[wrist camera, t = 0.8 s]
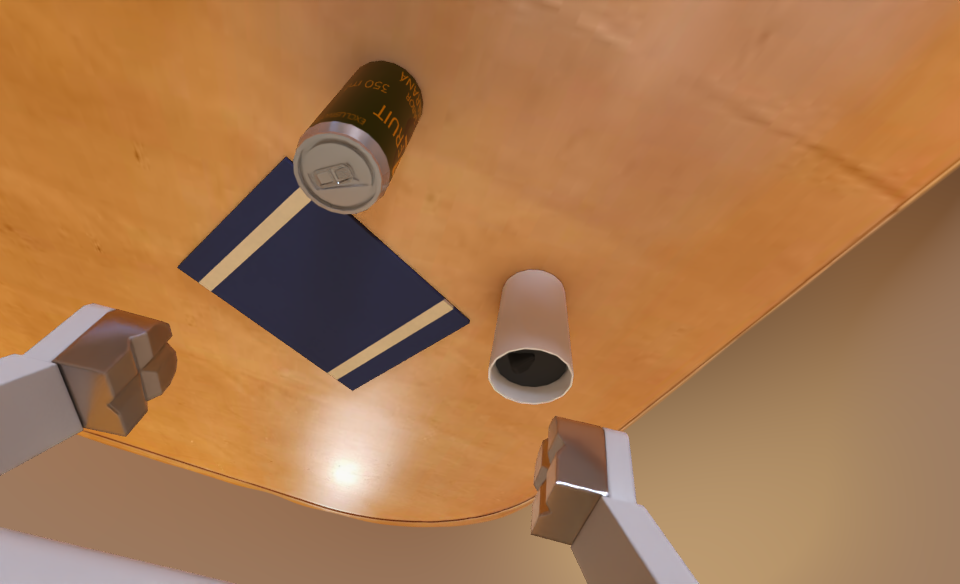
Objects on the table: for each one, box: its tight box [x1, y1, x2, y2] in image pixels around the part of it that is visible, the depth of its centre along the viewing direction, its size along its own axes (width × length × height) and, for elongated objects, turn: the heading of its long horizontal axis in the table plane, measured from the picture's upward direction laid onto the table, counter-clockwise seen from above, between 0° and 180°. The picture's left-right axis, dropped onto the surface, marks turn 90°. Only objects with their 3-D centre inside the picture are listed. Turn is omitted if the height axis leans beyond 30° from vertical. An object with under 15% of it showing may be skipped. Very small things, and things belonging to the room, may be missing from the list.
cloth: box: [177, 157, 470, 391], centre depth 51 cm, size 22×18×1 cm
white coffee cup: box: [488, 270, 574, 405], centre depth 45 cm, size 7×7×10 cm
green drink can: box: [293, 61, 423, 214], centre depth 34 cm, size 5×5×12 cm
